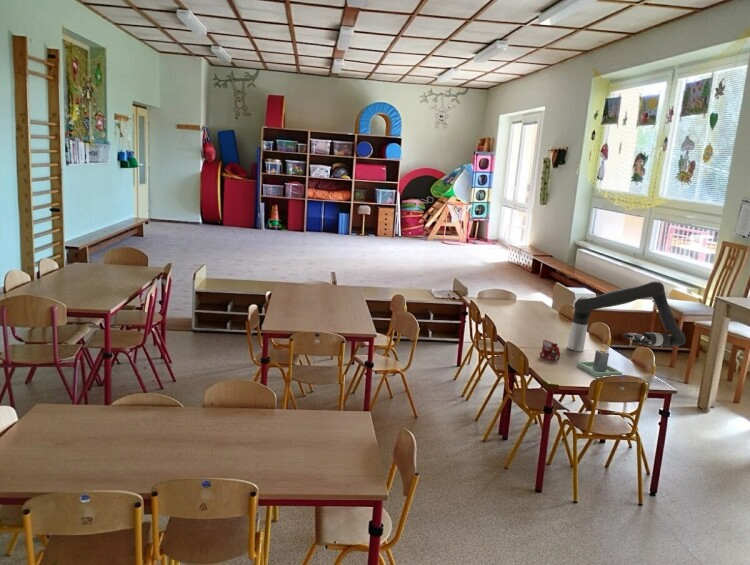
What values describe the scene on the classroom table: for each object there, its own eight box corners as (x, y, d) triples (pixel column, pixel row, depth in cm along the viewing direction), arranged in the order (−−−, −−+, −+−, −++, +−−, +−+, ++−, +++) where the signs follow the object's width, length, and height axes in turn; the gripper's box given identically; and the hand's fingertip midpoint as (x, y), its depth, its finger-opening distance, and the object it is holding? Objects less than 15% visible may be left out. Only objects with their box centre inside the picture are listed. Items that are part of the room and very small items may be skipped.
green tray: (577, 366, 345) (577, 361, 344) (600, 366, 350) (601, 361, 349) (596, 378, 328) (597, 372, 328) (621, 377, 333) (622, 372, 332)
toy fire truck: (554, 363, 347) (556, 346, 345) (537, 356, 357) (539, 339, 355) (561, 361, 351) (564, 344, 349) (544, 355, 361) (547, 338, 359)
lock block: (592, 368, 340) (596, 348, 338) (600, 368, 342) (603, 348, 339) (598, 372, 336) (601, 351, 333) (605, 371, 337) (609, 351, 335)
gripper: (645, 329, 351) (621, 328, 347) (662, 336, 338) (638, 336, 333) (642, 341, 353) (618, 340, 348) (659, 349, 339) (635, 349, 335)
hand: (628, 338), depth 341 cm, fingers open, 8 cm apart
